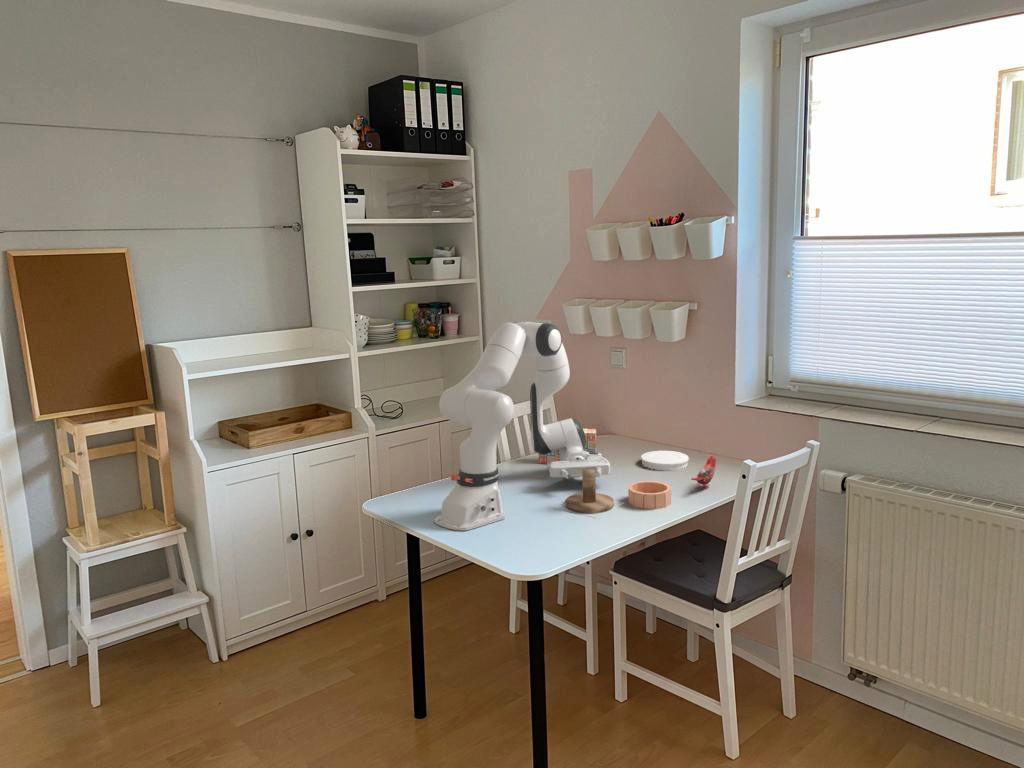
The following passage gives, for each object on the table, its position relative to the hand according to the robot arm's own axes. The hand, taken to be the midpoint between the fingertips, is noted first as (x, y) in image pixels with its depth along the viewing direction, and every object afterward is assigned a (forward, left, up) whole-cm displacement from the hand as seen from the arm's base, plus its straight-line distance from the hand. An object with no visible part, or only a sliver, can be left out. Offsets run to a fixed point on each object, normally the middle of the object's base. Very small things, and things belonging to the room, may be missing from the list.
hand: (583, 475), depth 250 cm
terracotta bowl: (+6, -21, -7) cm, 23 cm away
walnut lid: (-7, -7, -7) cm, 12 cm away
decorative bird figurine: (+27, -29, -7) cm, 40 cm away
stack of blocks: (+28, +27, -7) cm, 40 cm away
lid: (+47, -3, -8) cm, 48 cm away
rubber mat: (-7, -7, -7) cm, 12 cm away
